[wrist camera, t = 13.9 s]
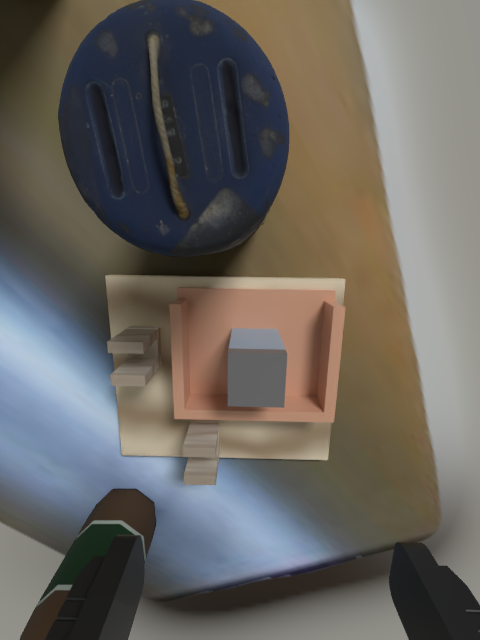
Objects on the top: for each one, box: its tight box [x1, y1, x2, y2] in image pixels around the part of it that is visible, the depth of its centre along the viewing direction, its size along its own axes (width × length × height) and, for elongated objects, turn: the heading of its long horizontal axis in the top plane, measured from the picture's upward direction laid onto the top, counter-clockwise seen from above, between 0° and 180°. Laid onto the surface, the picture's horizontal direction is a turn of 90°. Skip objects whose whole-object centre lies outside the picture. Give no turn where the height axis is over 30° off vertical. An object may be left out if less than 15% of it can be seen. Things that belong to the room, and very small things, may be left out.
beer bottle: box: [20, 489, 156, 640], centre depth 24 cm, size 8×8×24 cm
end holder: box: [169, 287, 345, 422], centre depth 28 cm, size 12×15×4 cm
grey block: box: [228, 328, 287, 408], centre depth 26 cm, size 4×4×7 cm
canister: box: [58, 0, 289, 257], centre depth 19 cm, size 10×10×18 cm
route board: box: [105, 275, 345, 485], centre depth 28 cm, size 20×23×6 cm
